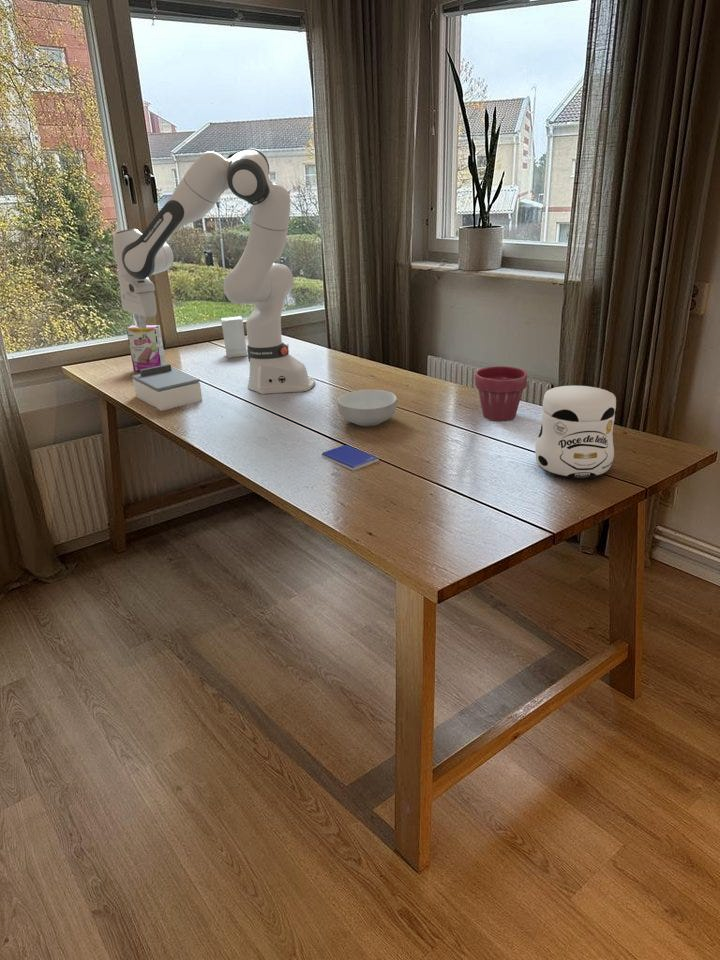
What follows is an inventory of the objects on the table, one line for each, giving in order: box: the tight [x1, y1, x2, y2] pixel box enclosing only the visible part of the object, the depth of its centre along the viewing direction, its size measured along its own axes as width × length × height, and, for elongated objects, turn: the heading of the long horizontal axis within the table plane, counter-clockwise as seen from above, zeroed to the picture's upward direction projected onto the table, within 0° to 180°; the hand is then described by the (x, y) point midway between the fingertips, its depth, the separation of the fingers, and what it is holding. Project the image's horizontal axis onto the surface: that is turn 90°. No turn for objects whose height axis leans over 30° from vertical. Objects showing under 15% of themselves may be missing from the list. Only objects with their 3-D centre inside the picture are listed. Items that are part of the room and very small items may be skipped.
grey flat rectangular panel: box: [131, 363, 201, 391], centre depth 215 cm, size 20×14×3 cm
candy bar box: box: [126, 324, 167, 373], centre depth 247 cm, size 11×5×16 cm, turn 84°
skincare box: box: [220, 315, 248, 359], centre depth 263 cm, size 8×6×15 cm
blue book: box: [321, 444, 380, 472], centre depth 167 cm, size 2×8×12 cm
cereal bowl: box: [337, 388, 398, 427], centre depth 190 cm, size 17×17×7 cm
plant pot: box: [474, 365, 528, 422], centre depth 189 cm, size 14×14×13 cm
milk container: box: [534, 385, 617, 480], centre depth 153 cm, size 17×17×18 cm
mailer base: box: [132, 378, 203, 412], centre depth 217 cm, size 20×14×6 cm
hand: (141, 327), depth 218 cm, fingers closed
